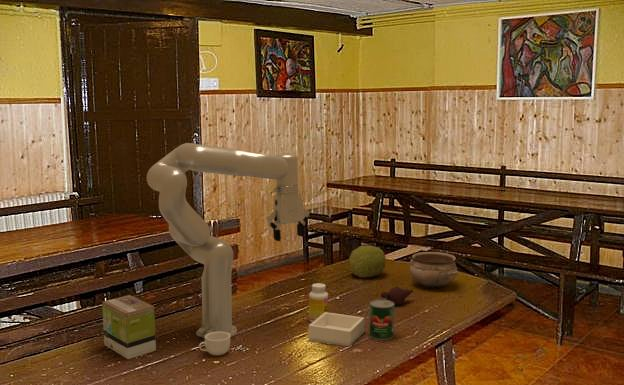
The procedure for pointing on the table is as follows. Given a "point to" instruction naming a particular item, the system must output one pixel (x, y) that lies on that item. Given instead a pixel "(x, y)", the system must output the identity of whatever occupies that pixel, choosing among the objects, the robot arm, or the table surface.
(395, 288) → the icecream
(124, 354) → the tea box
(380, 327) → the canned tomato
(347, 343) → the tub
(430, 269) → the cooking pot
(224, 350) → the teacup
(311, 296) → the supplement bottle
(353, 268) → the fruit
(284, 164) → the robot arm
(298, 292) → the table surface
